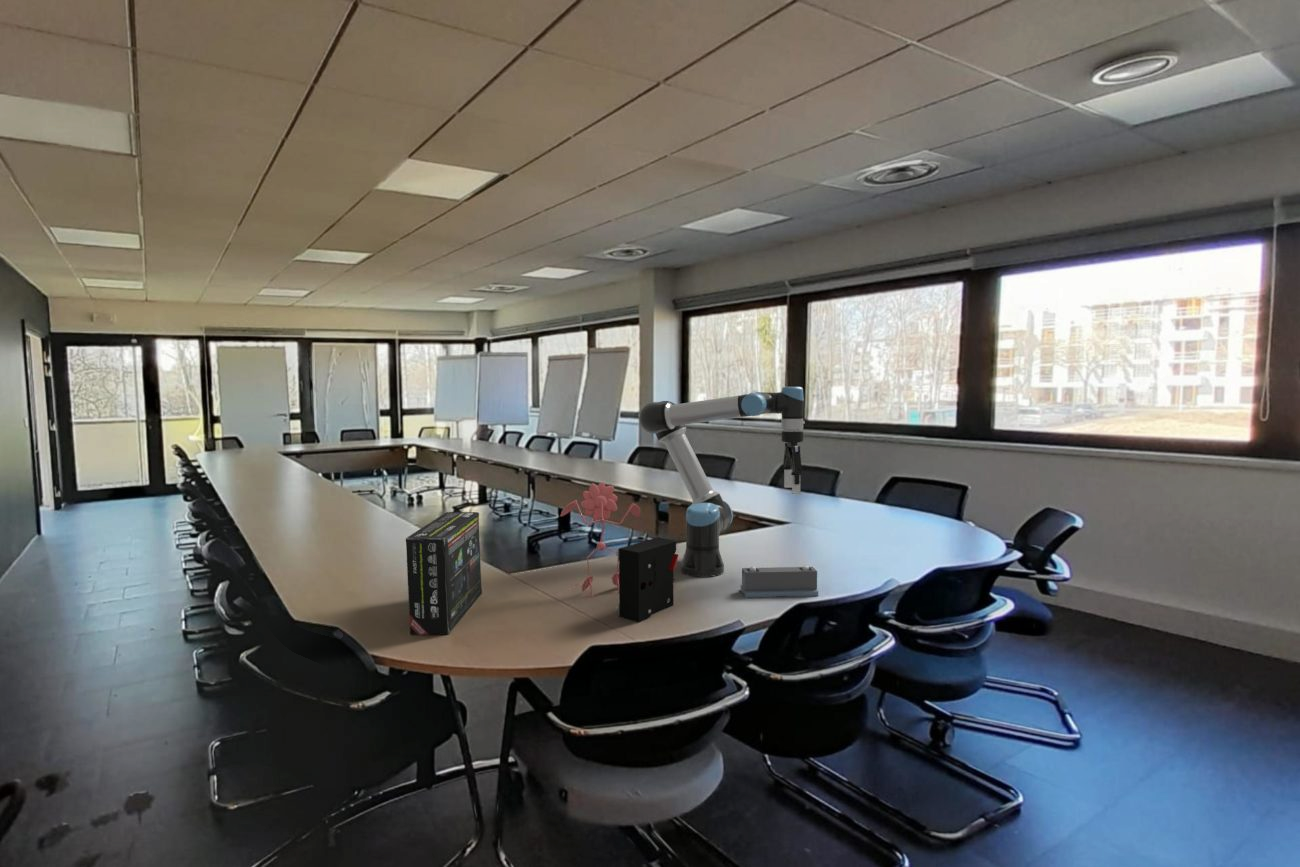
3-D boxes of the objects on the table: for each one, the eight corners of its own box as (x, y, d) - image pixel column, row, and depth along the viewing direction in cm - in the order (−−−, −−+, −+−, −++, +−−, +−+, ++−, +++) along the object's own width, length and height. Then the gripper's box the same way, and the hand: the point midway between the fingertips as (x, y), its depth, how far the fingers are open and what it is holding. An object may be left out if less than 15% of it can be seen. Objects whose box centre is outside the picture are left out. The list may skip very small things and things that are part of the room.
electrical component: (652, 599, 208) (652, 536, 207) (678, 606, 202) (678, 541, 200) (613, 615, 195) (613, 547, 193) (640, 623, 188) (640, 552, 187)
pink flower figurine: (645, 590, 217) (644, 482, 215) (567, 600, 208) (564, 487, 206) (630, 578, 231) (628, 477, 229) (556, 587, 222) (554, 481, 220)
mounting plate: (745, 597, 210) (746, 570, 209) (740, 589, 218) (741, 563, 217) (818, 595, 211) (818, 568, 211) (810, 588, 219) (811, 561, 219)
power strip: (744, 591, 212) (745, 572, 211) (741, 586, 217) (742, 568, 216) (816, 589, 213) (817, 571, 212) (812, 584, 218) (812, 566, 217)
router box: (448, 593, 215) (445, 511, 213) (482, 593, 215) (480, 510, 213) (406, 636, 179) (403, 537, 177) (448, 636, 179) (445, 537, 177)
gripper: (811, 433, 224) (811, 496, 226) (795, 428, 249) (795, 484, 251) (789, 433, 224) (788, 496, 226) (775, 428, 249) (774, 485, 251)
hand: (792, 490), depth 238 cm, fingers open, 13 cm apart
